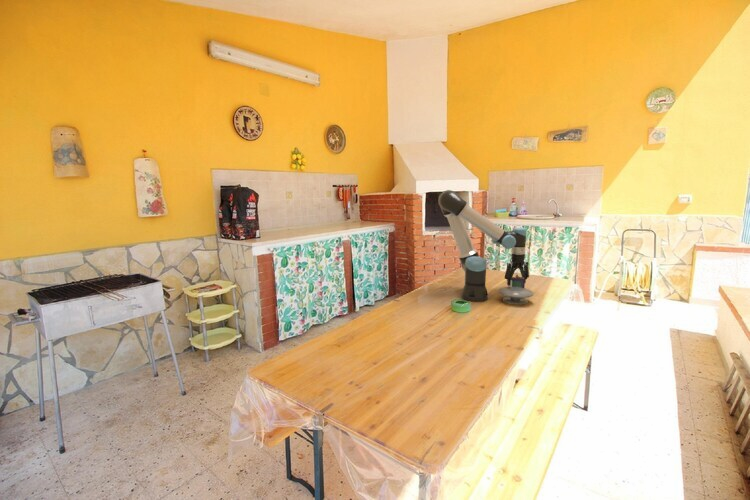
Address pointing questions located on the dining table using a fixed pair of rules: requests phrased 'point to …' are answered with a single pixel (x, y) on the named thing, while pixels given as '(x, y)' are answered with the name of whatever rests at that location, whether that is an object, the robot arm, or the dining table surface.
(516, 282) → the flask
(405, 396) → the dining table surface
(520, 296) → the cake stand
